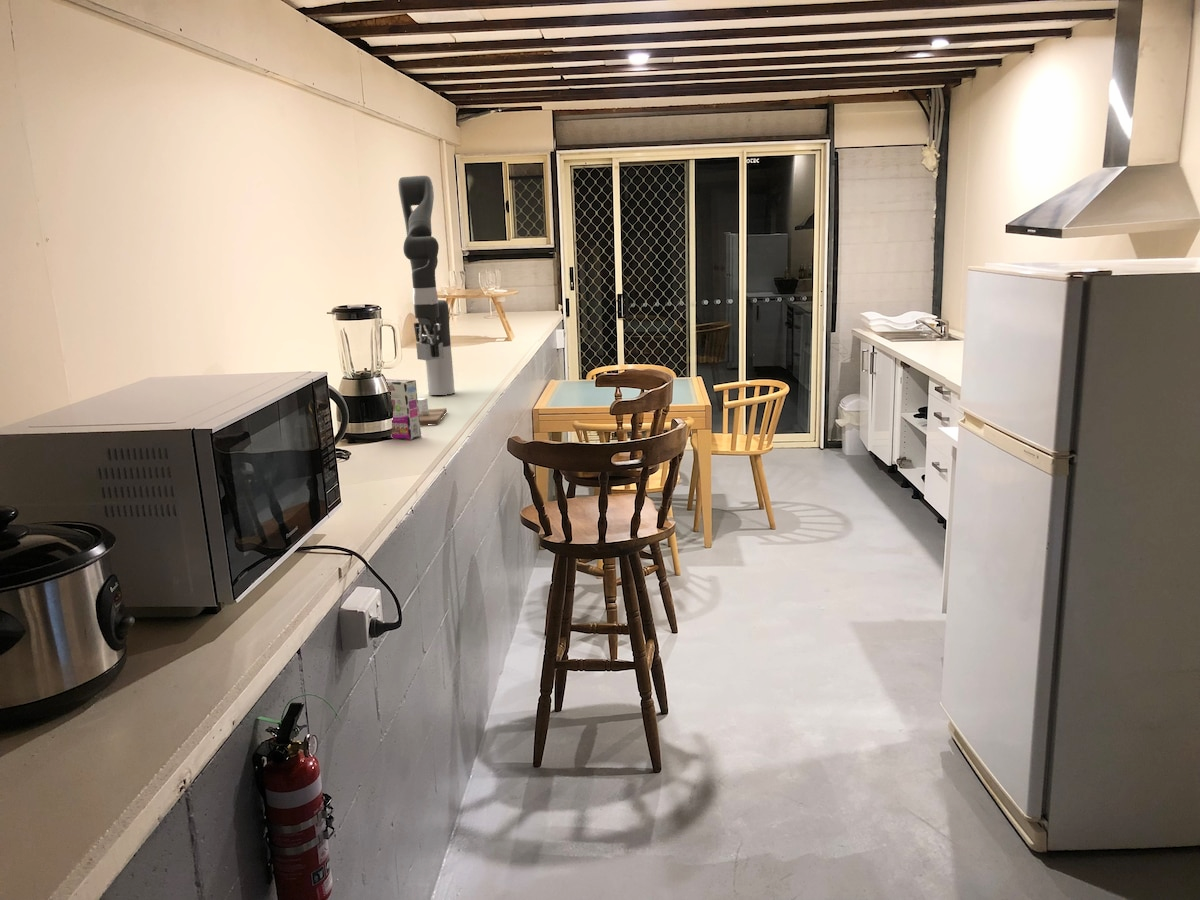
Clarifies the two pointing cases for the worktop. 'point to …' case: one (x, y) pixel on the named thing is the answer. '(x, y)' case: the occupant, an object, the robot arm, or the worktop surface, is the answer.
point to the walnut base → (432, 416)
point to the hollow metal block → (428, 351)
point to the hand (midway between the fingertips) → (430, 356)
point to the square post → (422, 406)
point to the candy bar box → (404, 409)
